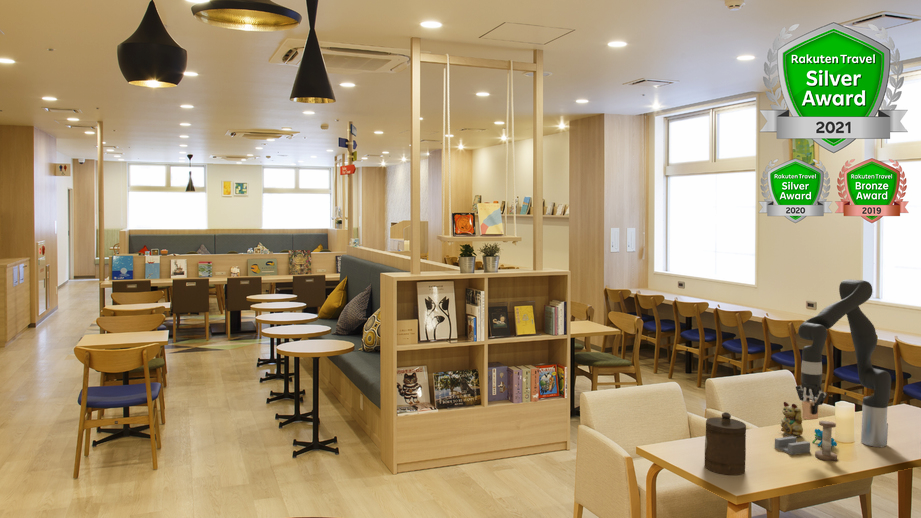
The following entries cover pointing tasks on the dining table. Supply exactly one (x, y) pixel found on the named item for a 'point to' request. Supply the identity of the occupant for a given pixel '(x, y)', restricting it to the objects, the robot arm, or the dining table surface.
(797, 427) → the decorative figurine
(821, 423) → the bobbin
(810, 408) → the copper tab
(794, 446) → the grooved channel block
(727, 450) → the wooden container
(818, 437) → the gear
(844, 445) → the dining table surface
